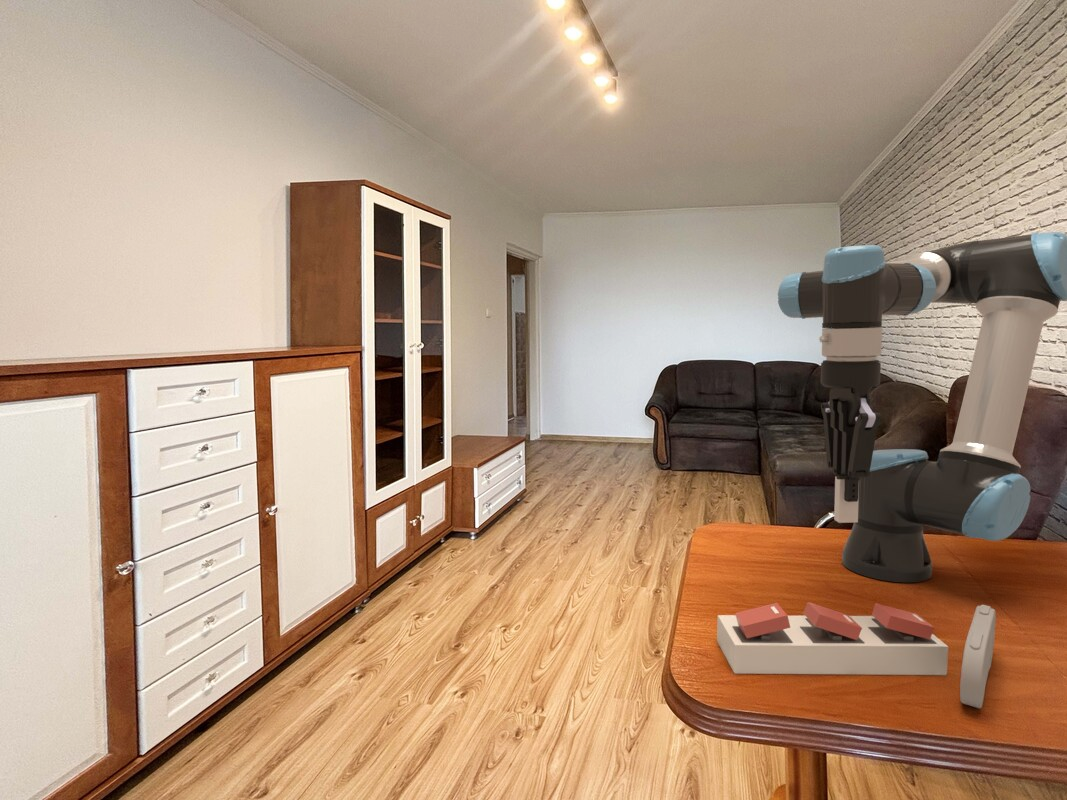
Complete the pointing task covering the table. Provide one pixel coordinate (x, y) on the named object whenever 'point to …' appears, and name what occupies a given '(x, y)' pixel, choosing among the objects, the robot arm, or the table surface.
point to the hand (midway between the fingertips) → (845, 520)
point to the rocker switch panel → (830, 650)
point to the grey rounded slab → (977, 656)
